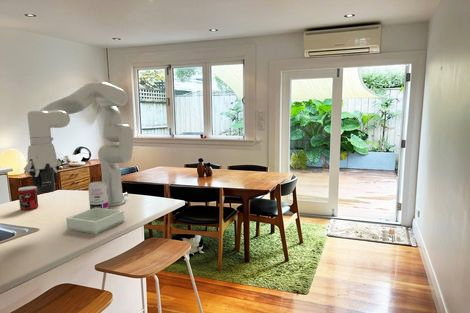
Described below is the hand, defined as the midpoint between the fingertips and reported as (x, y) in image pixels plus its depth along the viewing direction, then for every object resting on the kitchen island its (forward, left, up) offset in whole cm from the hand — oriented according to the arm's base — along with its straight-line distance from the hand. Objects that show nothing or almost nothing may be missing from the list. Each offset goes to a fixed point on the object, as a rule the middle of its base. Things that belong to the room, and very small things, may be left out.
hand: (45, 183), depth 134 cm
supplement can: (-24, +4, -20) cm, 31 cm away
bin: (-10, +16, -19) cm, 27 cm away
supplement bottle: (0, 0, -4) cm, 4 cm away
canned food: (-18, -37, -20) cm, 46 cm away
